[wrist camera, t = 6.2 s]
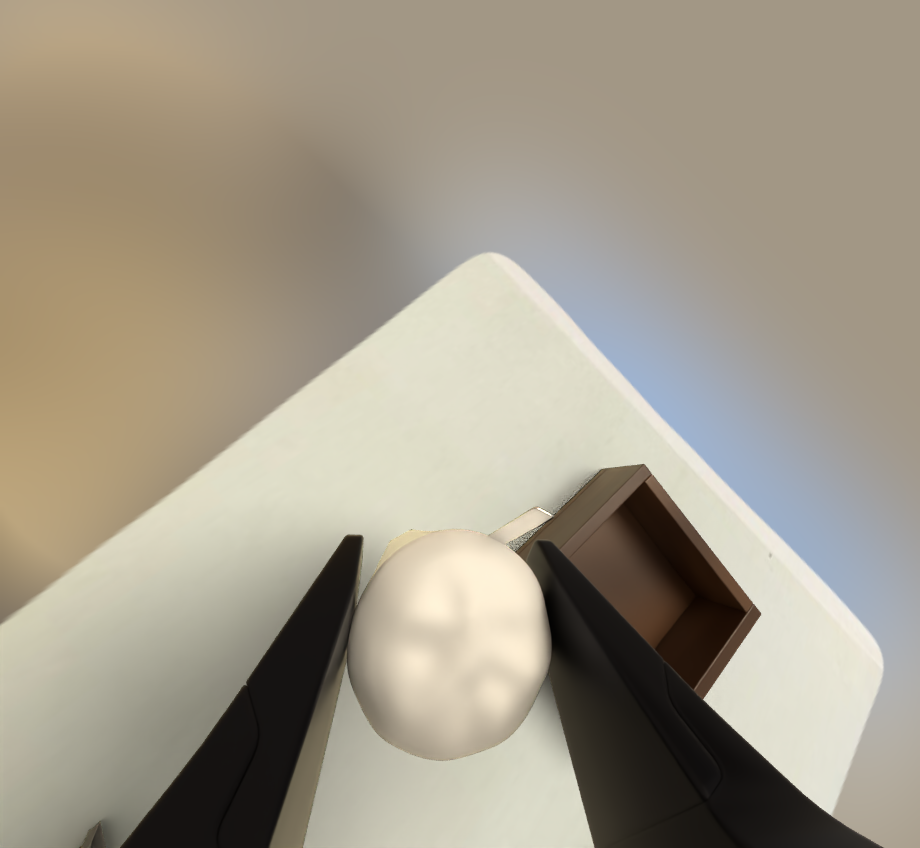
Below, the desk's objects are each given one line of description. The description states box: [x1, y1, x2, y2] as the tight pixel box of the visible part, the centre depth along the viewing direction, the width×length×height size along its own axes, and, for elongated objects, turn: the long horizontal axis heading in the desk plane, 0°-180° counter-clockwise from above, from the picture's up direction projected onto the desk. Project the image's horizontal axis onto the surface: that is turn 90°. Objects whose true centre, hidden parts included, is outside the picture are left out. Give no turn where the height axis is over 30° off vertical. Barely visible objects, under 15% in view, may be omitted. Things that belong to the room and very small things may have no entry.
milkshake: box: [347, 507, 554, 761], centre depth 11 cm, size 4×5×10 cm
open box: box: [515, 464, 761, 699], centre depth 21 cm, size 12×12×4 cm
